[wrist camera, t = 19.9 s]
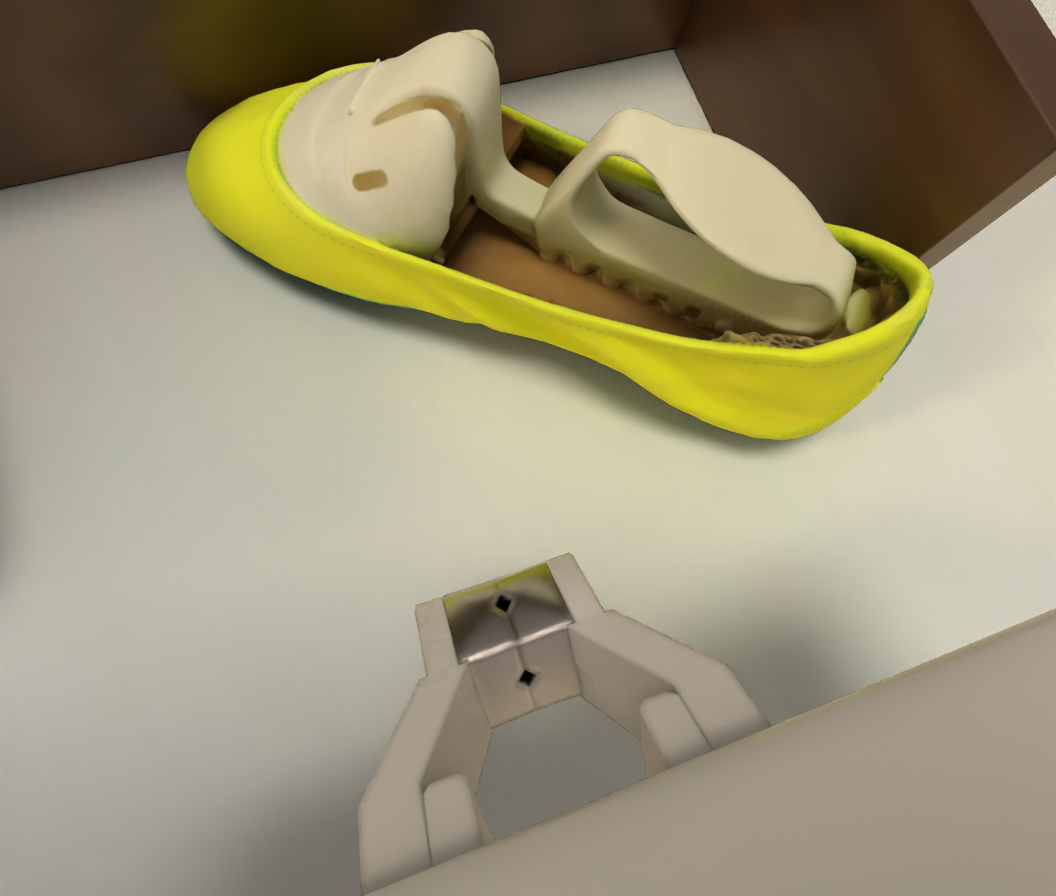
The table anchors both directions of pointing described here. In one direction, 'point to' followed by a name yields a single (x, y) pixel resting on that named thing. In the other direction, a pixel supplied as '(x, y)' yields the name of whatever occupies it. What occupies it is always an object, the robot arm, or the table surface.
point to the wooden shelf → (575, 41)
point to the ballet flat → (565, 235)
